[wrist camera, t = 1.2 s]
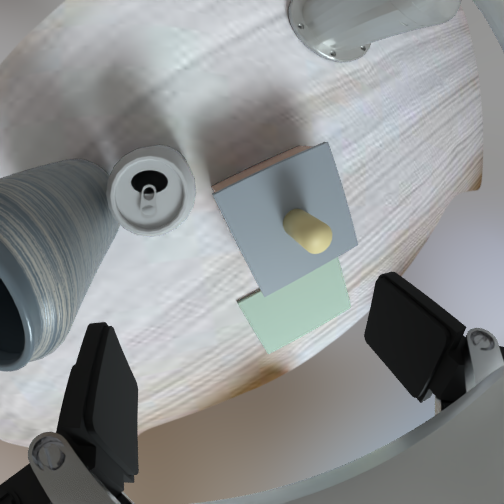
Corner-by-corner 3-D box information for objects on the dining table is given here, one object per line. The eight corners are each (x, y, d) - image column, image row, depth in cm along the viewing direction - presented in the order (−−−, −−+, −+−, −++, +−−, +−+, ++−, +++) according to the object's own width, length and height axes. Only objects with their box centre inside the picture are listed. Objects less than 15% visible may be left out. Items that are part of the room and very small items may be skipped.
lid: (324, 142, 28) (355, 144, 22) (354, 242, 33) (383, 261, 28) (212, 193, 27) (221, 207, 22) (262, 293, 33) (279, 322, 27)
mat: (334, 249, 40) (335, 250, 40) (349, 306, 46) (351, 307, 45) (237, 302, 39) (237, 303, 39) (267, 352, 45) (268, 354, 44)
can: (192, 145, 30) (201, 147, 19) (188, 208, 33) (195, 243, 22) (127, 145, 28) (101, 147, 17) (126, 208, 31) (103, 244, 20)
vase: (36, 166, 25) (-101, 222, 5) (121, 150, 28) (17, 174, 7) (51, 255, 30) (-36, 381, 9) (131, 245, 32) (90, 395, 12)
